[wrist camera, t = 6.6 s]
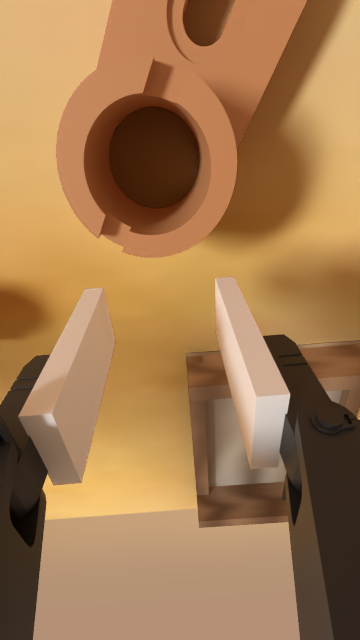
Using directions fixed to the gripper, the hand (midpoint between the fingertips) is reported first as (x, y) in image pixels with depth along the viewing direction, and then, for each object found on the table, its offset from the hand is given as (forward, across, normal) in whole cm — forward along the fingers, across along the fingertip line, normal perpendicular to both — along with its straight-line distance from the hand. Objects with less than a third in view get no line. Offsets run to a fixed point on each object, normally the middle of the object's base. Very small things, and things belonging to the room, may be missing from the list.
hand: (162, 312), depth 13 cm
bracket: (+12, +2, +9) cm, 15 cm away
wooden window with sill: (+11, +9, -22) cm, 27 cm away
